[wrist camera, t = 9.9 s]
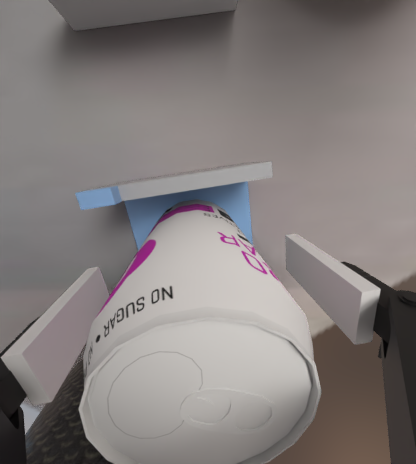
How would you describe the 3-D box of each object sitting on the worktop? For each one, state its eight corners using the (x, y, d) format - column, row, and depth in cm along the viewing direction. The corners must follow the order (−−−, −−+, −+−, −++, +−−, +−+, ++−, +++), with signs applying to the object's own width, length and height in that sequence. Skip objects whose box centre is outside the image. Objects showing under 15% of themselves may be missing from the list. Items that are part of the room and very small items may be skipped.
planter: (207, 330, 24) (223, 495, 12) (173, 406, 28) (161, 590, 16) (87, 304, 22) (-42, 478, 10) (68, 391, 26) (-42, 596, 13)
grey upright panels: (69, 13, 14) (-40, -125, 8) (233, -8, 15) (271, -157, 8) (151, 300, 22) (135, 359, 16) (256, 281, 23) (284, 331, 16)
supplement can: (144, 262, 20) (36, 480, 6) (169, 185, 18) (91, 249, 4) (217, 284, 22) (265, 501, 8) (248, 215, 20) (396, 339, 5)
